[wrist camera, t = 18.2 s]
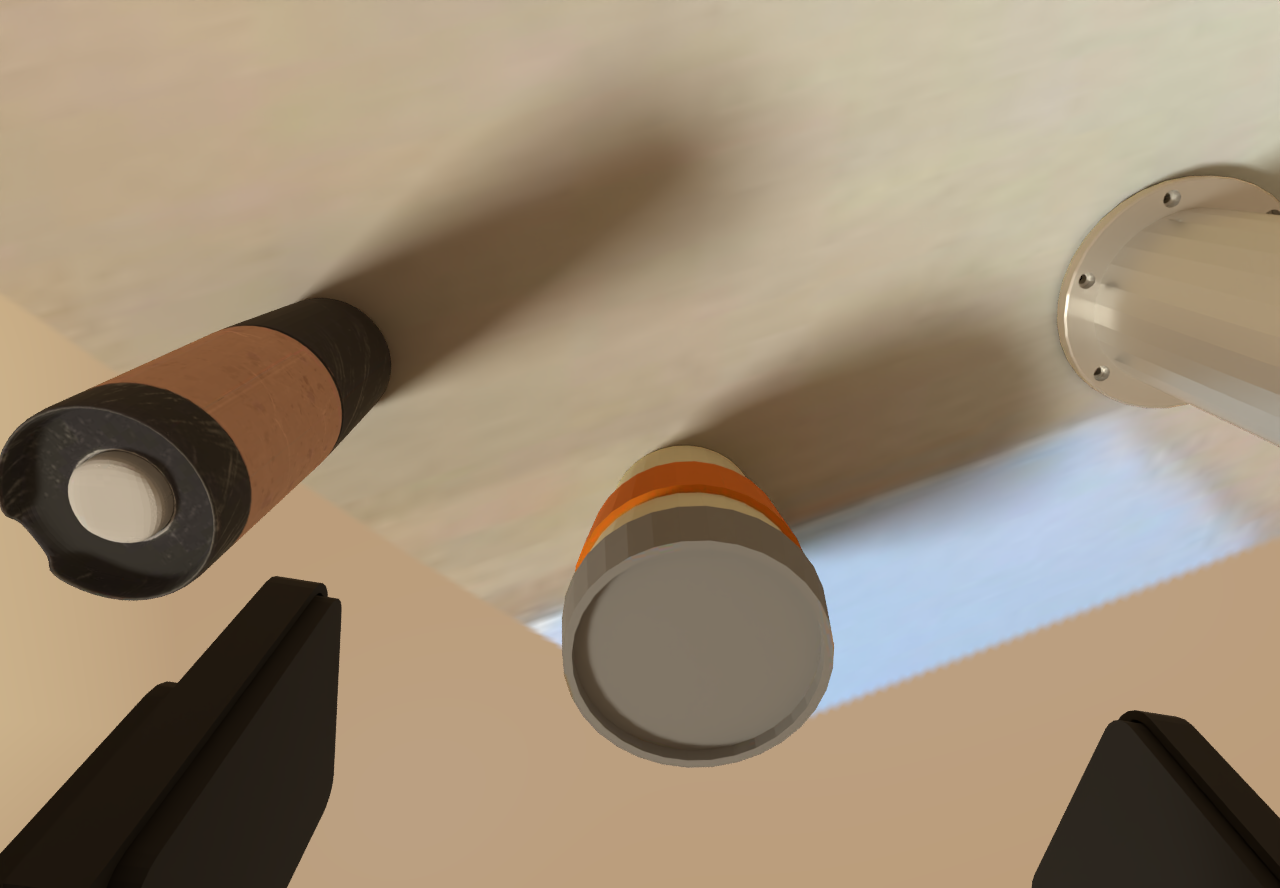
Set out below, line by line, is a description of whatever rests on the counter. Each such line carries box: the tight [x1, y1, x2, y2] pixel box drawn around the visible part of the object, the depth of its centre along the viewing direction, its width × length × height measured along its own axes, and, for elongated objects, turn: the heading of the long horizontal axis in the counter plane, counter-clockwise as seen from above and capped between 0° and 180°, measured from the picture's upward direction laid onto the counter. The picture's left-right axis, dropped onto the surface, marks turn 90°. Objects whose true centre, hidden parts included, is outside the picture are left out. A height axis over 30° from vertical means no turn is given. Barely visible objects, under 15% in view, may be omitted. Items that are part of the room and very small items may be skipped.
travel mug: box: [0, 298, 391, 600], centre depth 36 cm, size 8×8×20 cm
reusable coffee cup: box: [562, 445, 834, 767], centre depth 41 cm, size 13×13×15 cm
